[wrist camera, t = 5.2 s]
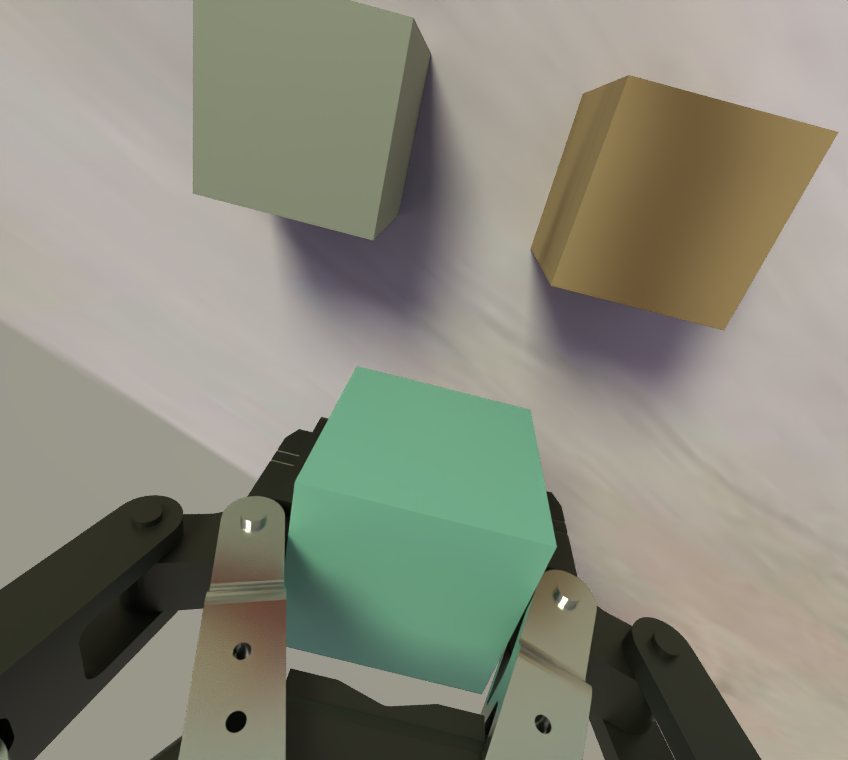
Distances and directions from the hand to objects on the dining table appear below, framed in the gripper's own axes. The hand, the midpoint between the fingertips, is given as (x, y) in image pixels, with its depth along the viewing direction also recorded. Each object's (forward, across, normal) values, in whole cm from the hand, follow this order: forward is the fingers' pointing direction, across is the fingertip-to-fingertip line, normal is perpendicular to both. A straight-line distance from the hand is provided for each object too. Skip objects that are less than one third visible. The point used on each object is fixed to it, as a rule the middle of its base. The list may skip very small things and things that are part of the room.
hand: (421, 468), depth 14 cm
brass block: (+7, -5, -8) cm, 12 cm away
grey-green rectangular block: (+7, +5, -8) cm, 12 cm away
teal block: (+1, 0, 0) cm, 1 cm away
